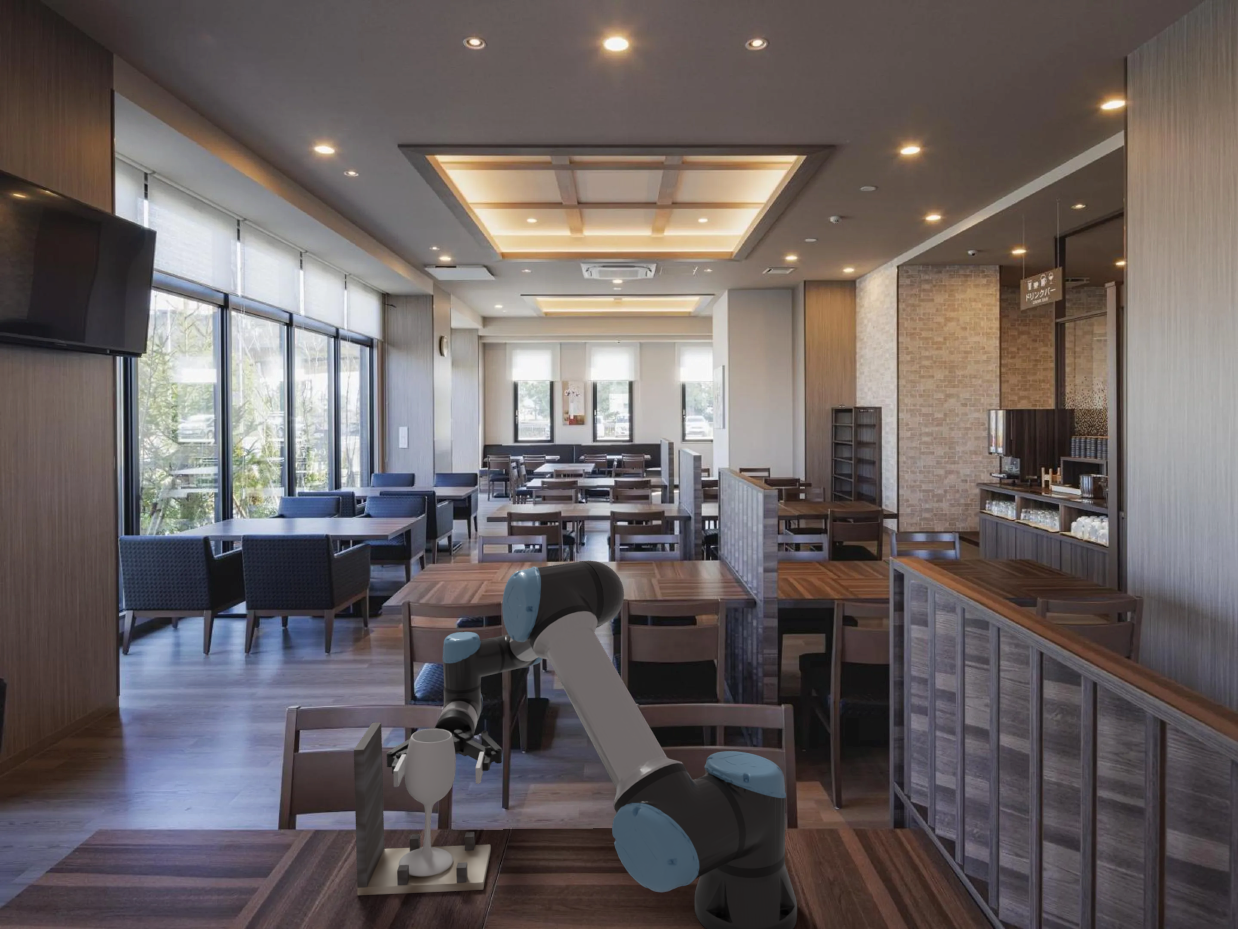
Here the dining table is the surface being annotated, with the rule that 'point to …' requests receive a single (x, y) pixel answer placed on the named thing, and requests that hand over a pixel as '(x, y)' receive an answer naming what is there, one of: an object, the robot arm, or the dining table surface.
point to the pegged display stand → (382, 865)
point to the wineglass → (429, 792)
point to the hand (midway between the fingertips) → (436, 777)
